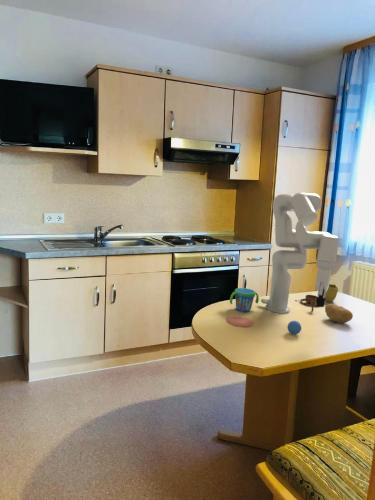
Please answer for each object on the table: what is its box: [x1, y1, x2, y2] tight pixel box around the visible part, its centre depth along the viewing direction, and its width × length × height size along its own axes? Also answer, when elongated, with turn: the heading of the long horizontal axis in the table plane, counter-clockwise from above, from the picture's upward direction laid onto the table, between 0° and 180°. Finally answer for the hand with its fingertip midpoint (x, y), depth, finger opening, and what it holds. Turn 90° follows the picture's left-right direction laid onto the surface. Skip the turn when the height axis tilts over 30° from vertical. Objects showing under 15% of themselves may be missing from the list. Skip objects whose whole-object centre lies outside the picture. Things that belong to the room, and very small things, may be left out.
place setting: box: [294, 294, 319, 313], centre depth 227 cm, size 18×20×6 cm
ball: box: [287, 320, 302, 335], centre depth 182 cm, size 6×6×6 cm
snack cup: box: [229, 287, 260, 313], centre depth 209 cm, size 16×10×10 cm
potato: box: [324, 303, 354, 324], centre depth 202 cm, size 10×14×8 cm
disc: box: [225, 316, 255, 328], centre depth 193 cm, size 13×13×1 cm
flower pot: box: [325, 283, 339, 303], centre depth 238 cm, size 9×9×9 cm
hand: (320, 305), depth 176 cm, fingers closed
